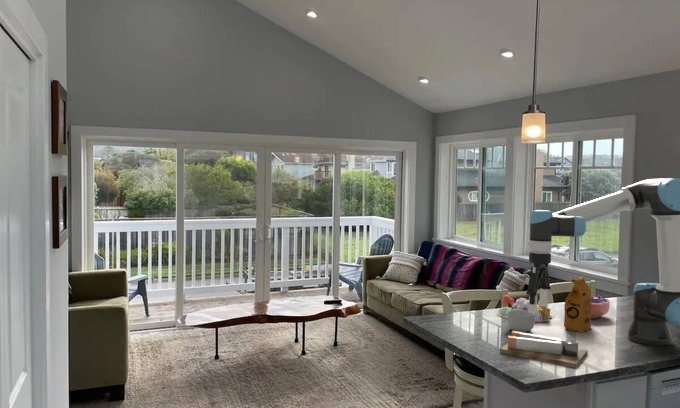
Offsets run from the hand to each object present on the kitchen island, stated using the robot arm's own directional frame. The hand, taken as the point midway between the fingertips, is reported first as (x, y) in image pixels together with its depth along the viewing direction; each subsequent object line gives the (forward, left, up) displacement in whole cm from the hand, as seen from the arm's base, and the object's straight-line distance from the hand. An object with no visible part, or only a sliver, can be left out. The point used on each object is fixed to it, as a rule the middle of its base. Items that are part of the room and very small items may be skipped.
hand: (538, 309), depth 188 cm
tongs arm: (0, +4, -14) cm, 15 cm away
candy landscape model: (+20, -51, -17) cm, 57 cm away
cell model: (-4, -69, -16) cm, 71 cm away
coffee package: (-4, -44, -16) cm, 47 cm away
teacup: (+15, -26, -16) cm, 34 cm away
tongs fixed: (-2, 0, -14) cm, 15 cm away
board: (-2, 0, -16) cm, 16 cm away
